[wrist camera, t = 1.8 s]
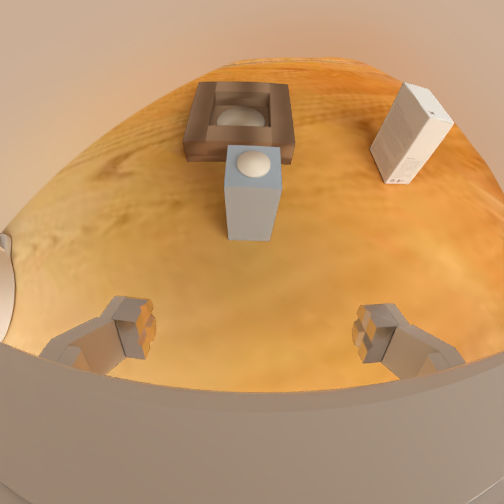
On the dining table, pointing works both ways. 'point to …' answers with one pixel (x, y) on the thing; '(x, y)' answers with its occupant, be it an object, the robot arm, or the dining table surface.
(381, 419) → the robot arm
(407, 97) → the skincare box
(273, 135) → the socket block
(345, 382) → the dining table surface
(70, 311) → the dining table surface
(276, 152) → the post
